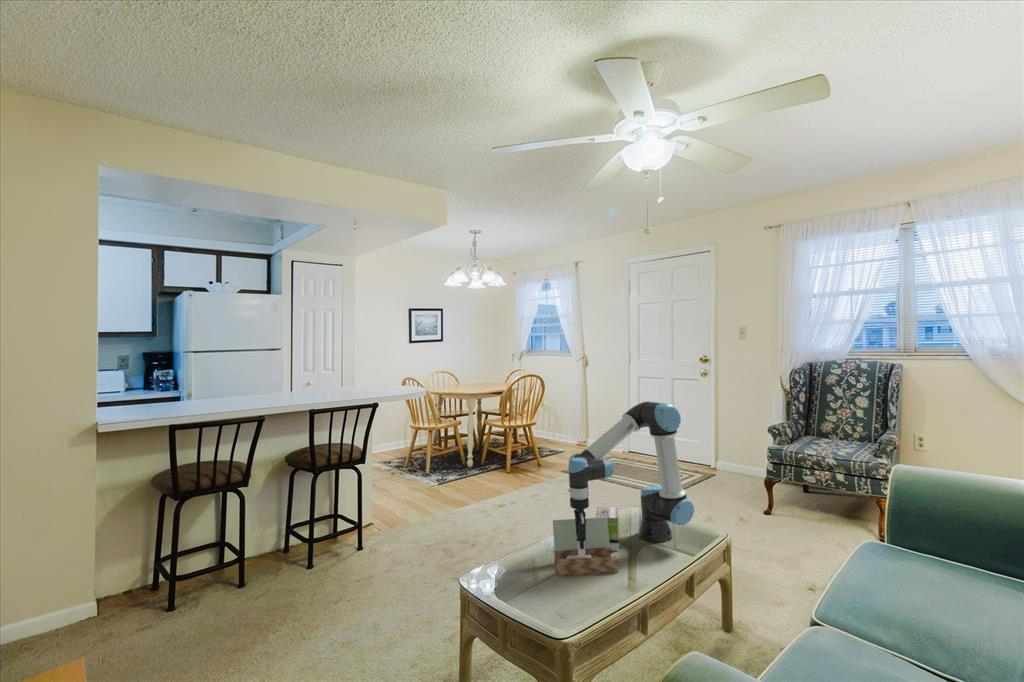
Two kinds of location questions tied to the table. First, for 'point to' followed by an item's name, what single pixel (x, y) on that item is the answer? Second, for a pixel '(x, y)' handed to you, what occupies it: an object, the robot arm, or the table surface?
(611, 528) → the tea box
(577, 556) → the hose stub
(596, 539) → the cover
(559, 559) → the tissue box
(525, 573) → the table surface
